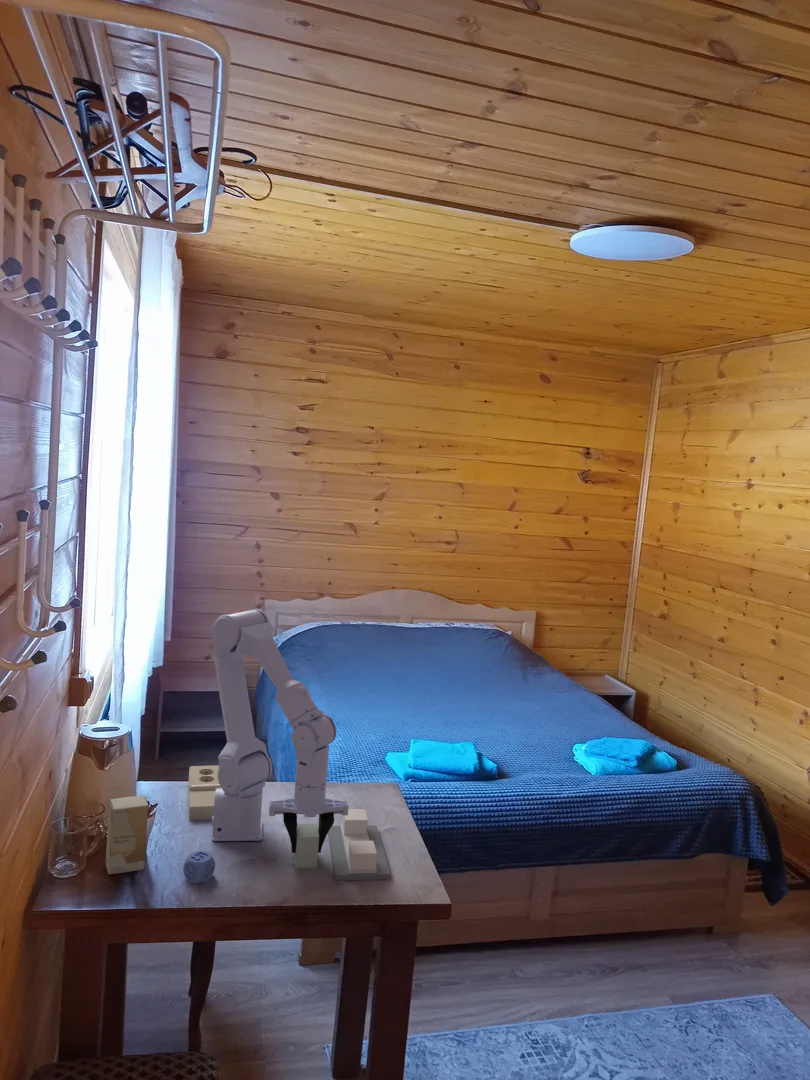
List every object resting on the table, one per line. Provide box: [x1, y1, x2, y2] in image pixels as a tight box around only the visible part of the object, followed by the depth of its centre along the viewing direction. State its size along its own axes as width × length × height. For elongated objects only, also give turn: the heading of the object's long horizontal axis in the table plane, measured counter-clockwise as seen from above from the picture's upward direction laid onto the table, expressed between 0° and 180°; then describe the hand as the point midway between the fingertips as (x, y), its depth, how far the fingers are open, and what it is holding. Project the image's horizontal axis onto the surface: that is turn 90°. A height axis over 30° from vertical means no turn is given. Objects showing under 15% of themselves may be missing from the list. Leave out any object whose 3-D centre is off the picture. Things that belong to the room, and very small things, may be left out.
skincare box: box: [105, 795, 149, 875], centre depth 139 cm, size 6×4×12 cm
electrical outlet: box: [188, 764, 221, 821], centre depth 168 cm, size 7×4×18 cm
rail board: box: [327, 808, 391, 881], centre depth 150 cm, size 10×18×5 cm, turn 10°
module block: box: [293, 823, 319, 869], centre depth 147 cm, size 4×5×6 cm
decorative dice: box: [182, 850, 216, 885], centre depth 138 cm, size 4×4×4 cm
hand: (306, 850), depth 147 cm, fingers closed on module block, 4 cm apart
